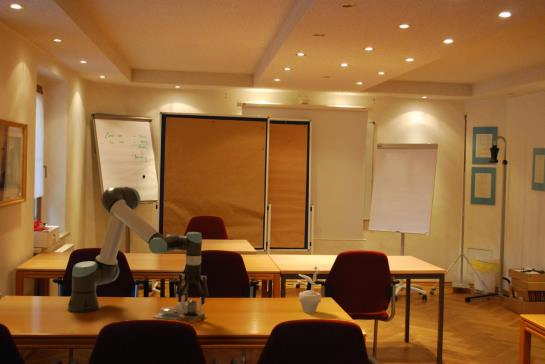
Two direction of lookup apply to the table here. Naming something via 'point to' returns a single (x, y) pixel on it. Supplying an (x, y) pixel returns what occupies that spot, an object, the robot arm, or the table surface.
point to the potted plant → (310, 295)
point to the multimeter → (184, 292)
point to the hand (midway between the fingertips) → (191, 309)
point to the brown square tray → (191, 317)
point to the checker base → (166, 316)
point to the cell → (192, 308)
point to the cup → (178, 306)
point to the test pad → (169, 310)
